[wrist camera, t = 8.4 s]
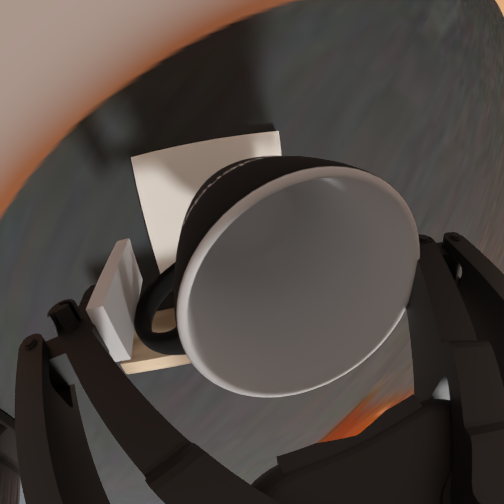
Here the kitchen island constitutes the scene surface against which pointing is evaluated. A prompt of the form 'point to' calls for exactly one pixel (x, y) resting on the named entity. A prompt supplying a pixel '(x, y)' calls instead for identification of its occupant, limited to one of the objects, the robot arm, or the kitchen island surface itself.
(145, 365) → the wooden boomerang
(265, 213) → the mug
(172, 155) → the plate
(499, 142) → the kitchen island surface
